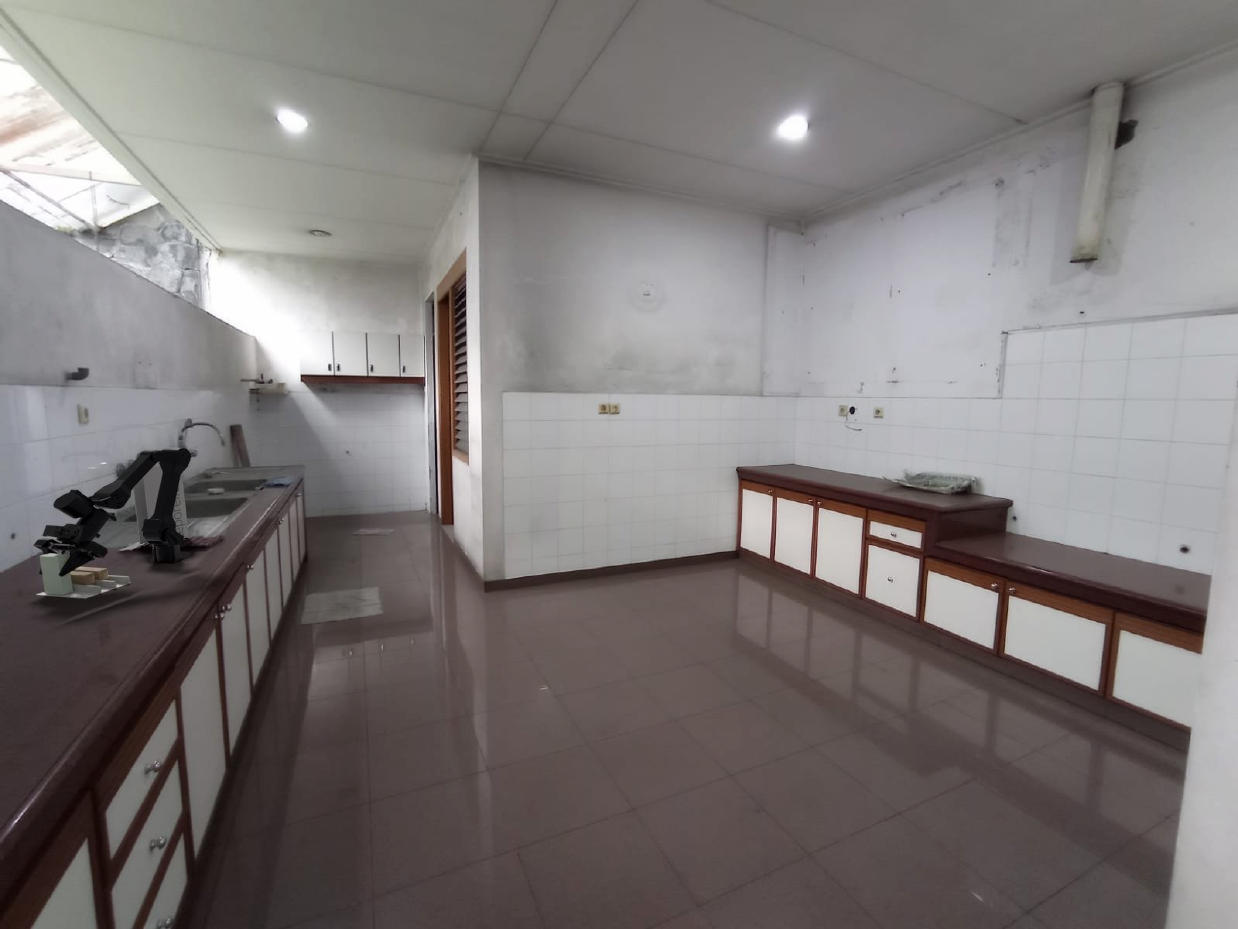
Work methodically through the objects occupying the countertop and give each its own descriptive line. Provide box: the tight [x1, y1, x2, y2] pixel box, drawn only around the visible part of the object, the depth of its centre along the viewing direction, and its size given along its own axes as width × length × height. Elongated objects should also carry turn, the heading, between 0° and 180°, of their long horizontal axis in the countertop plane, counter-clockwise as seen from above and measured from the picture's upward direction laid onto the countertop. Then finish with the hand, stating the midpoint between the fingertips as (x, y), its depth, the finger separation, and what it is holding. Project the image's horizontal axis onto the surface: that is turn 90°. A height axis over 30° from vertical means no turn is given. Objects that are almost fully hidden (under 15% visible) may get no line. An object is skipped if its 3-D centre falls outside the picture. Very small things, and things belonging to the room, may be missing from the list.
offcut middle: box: [70, 571, 95, 586], centre depth 162 cm, size 2×10×4 cm, turn 82°
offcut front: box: [73, 566, 109, 581], centre depth 165 cm, size 2×10×4 cm, turn 82°
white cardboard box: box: [132, 462, 190, 545], centre depth 209 cm, size 14×6×30 cm, turn 168°
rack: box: [35, 574, 132, 599], centre depth 162 cm, size 13×16×3 cm
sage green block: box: [39, 553, 73, 595], centre depth 157 cm, size 2×6×11 cm, turn 82°
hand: (50, 575), depth 155 cm, fingers closed on sage green block, 6 cm apart
